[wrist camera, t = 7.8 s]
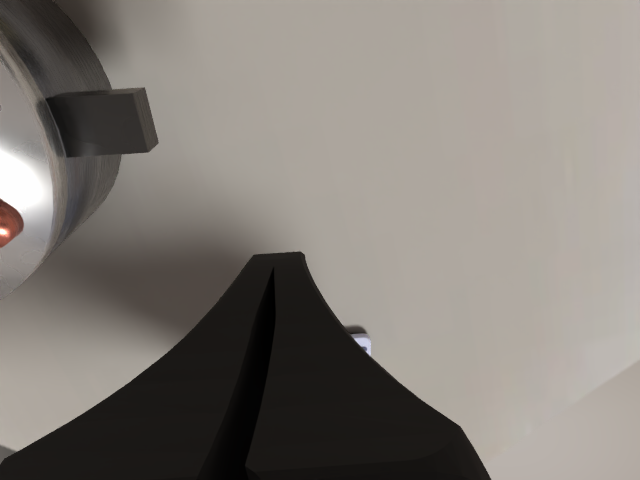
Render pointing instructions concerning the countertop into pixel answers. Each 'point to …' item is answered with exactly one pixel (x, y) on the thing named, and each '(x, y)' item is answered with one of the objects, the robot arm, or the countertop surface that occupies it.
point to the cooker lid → (27, 173)
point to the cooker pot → (78, 103)
